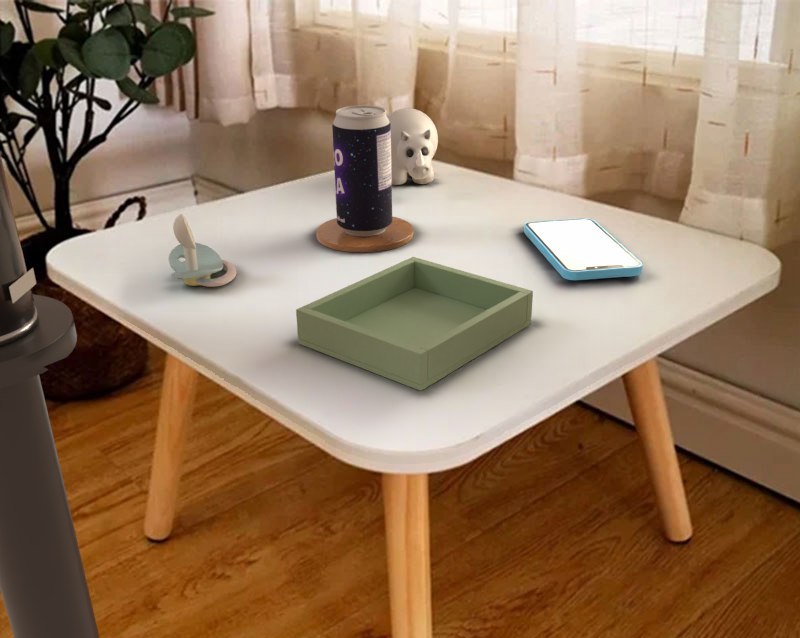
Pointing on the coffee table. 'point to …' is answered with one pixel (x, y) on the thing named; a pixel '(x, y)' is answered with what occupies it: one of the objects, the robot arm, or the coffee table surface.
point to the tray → (414, 321)
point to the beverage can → (362, 169)
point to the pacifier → (196, 259)
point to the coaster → (389, 239)
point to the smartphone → (582, 249)
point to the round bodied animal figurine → (412, 146)
